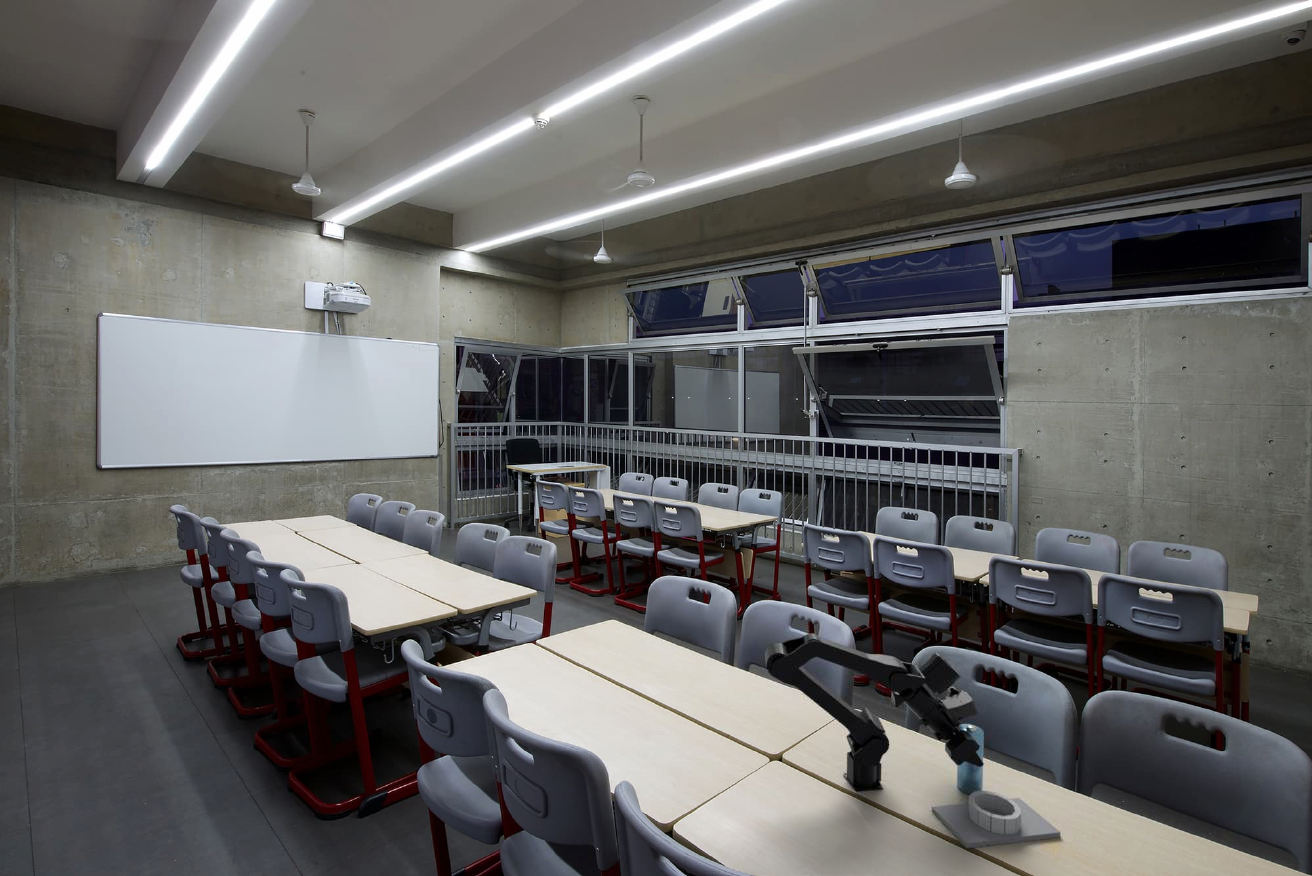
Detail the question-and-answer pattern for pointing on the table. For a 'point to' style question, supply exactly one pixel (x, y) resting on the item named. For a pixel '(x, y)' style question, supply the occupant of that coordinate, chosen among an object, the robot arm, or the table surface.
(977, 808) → the socket plate
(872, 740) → the robot arm
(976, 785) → the cylinder
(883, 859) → the table surface
